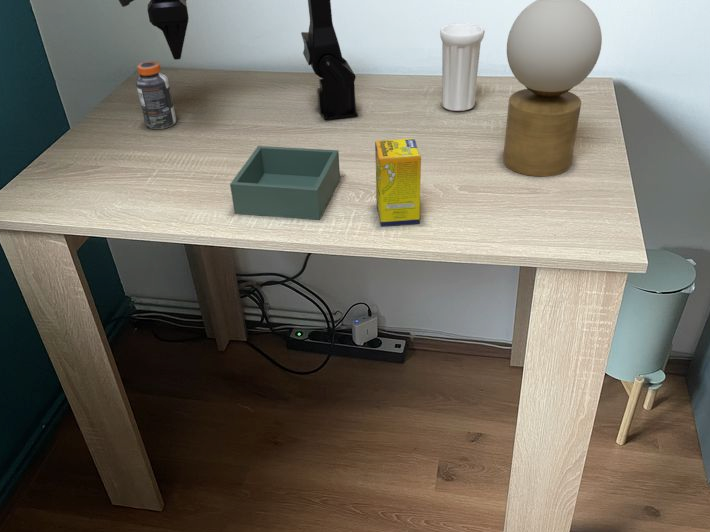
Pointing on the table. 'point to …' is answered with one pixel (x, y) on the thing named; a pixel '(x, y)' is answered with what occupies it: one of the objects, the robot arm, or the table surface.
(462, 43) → the cup
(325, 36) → the robot arm
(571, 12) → the lamp
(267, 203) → the green square tray
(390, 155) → the supplement box
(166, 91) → the pill bottle
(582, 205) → the table surface
